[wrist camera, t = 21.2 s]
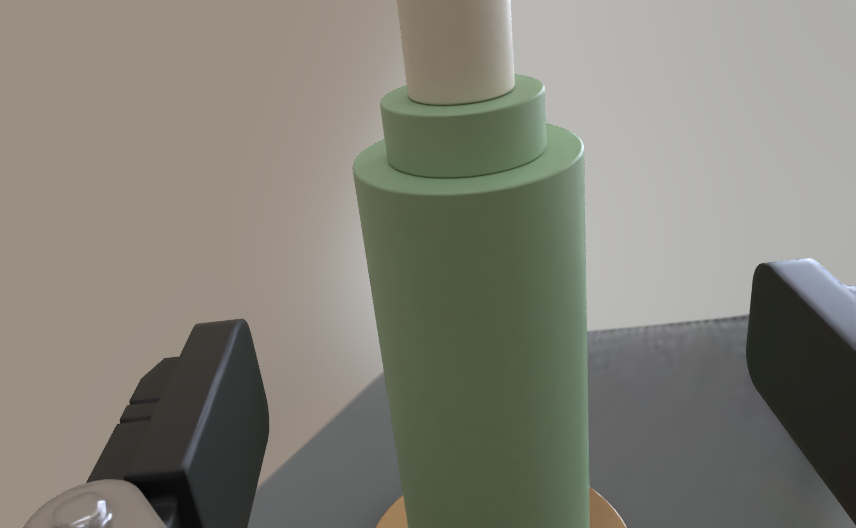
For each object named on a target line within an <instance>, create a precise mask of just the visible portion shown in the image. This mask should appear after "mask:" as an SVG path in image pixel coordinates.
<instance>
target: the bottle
mask: <svg viewBox="0 0 856 528" xmlns="http://www.w3.org/2000/svg"><path fill="white" fill-rule="evenodd" d="M397 5H398V13H399V22H400V29H401V30H400V31H401V39H402V48H403V55H404V65H405V73H406V81H407V85H405V86H403V87H400V88H397V89H395V90H393V91H391V92H389V93H388V94H386V95H385V96H384V97H383V98H382V99H381V102H380V107H381V115H382V122H383V129H384V137H385V139H383V140H381V141H379V142H377V143H375V144H373V145H371V146H370V147H368V148H366V149H365V150H364V151H362V152H361V153H360V154H359V155H358V156H357V158H356V159H355V161H354V164H353V174H354V181H355V187H356V194H357V200H358V207H359V214H360V220H361V226H362V233H363V239H364V245H365V252H366V259H367V265H368V272H369V278H370V284H371V290H372V297H373V303H374V310H375V317H376V323H377V330H378V336H379V343H380V349H381V355H382V362H383V368H384V375H385V381H386V388H387V394H388V401H389V407H390V413H391V420H392V426H393V433H394V439H395V446H396V452H397V459H398V465H399V472H400V478H401V484H402V491H403V497H404V504H405V510H406V517H407V523H408V528H590V514H589V447H588V380H587V316H586V315H587V313H586V250H585V249H586V248H585V247H586V245H585V183H584V182H585V181H584V180H585V179H584V146H583V143H582V141H581V140H580V138H579V137H578V136H577V135H575V134H574V133H572V132H570V131H568V130H566V129H564V128H561V127H558V126H555V125H551V124H546V117H545V116H546V115H545V92H544V91H545V88H544V85H543V83H542V82H540V81H539V80H537V79H534V78H531V77H527V76H523V75H517V74H514V59H513V58H514V57H513V39H512V20H511V3H510V0H397Z"/></svg>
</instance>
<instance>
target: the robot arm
mask: <svg viewBox="0 0 856 528" xmlns="http://www.w3.org/2000/svg"><path fill="white" fill-rule="evenodd" d="M746 358H747V366H748V370H749V374H750V377H751V380H752V382H753V384H754V386H755V388H756V389H757V391H758V392H759V394H760V395H761V396H762V398H763V399H764V400H765V402H766V403H767V405H768V406H769V407H770V409H771V410H772V411H773V413H774V414H775V415H776V417H777V418H778V420H779V421H780V422H781V424H782V425H783V426H784V428H785V429H786V430H787V432H788V433H789V435H790V436H791V437H792V439H793V440H794V441H795V443H796V444H797V446H798V447H799V448H800V450H801V451H802V452H803V454H804V455H805V456H806V458H807V459H808V461H809V462H810V463H811V465H812V466H813V467H814V469H815V470H816V471H817V473H818V474H819V476H820V477H821V478H822V480H823V481H824V482H825V484H826V485H827V487H828V488H829V489H830V491H831V492H832V493H833V495H834V496H835V497H836V499H837V500H838V502H839V503H840V504H841V506H842V507H843V508H844V510H845V511H846V513H847V514H848V515H849V517H850V518H851V519H852V521H853V522H854V523H855V525H856V287H854V286H851V285H846V286H844V285H843V284H842V283H841V282H839V281H838V280H837V279H836V278H835V277H834V276H833V275H831V274H830V273H829V272H828V271H827V270H826V269H824V268H823V267H822V266H821V265H820V264H819V263H818V262H816V261H815V260H813V259H811V258H805V259H796V260H787V261H779V262H768V263H762V264H759V265H758V266H757V268H756V269H755V272H754V276H753V282H752V293H751V303H750V314H749V324H748V335H747V346H746ZM268 435H269V412H268V404H267V399H266V394H265V390H264V386H263V382H262V378H261V374H260V369H259V365H258V361H257V357H256V352H255V349H254V344H253V340H252V336H251V332H250V329H249V326H248V324H247V322H246V321H245V320H244V319H235V320H226V321H217V322H208V323H199V324H196V325H195V326H194V328H193V329H192V331H191V333H190V336H189V338H188V340H187V342H186V344H185V346H184V348H183V350H182V353H181V355H180V357H171V358H164V359H163V360H162V361H161V362H160V363H159V364H157V365H156V366H155V367H154V368H153V369H152V370H151V371H149V372H148V373H147V374H146V375H145V376H144V377H143V378H142V379H141V380H140V382H139V384H138V386H137V388H136V390H135V391H134V393H133V395H132V397H131V399H130V405H127V407H126V408H125V410H124V412H123V414H122V416H121V418H120V424H117V425H116V427H115V429H114V431H113V433H112V435H111V437H110V439H109V441H108V443H107V444H106V446H105V448H104V450H103V452H102V454H101V456H100V458H99V460H98V461H97V463H96V465H95V467H94V469H93V471H92V473H91V475H90V476H89V478H88V480H87V482H86V483H85V484H82V485H79V486H76V487H74V488H71V489H69V490H67V491H65V492H63V493H61V494H59V495H57V496H56V497H54V498H53V499H51V500H50V501H48V502H47V503H46V504H44V505H43V506H42V507H41V508H39V509H38V510H37V511H36V512H35V513H34V514H33V515H32V516H31V517H30V519H29V520H28V521H27V523H26V524H25V525H24V527H23V528H247V526H248V522H249V517H250V513H251V509H252V505H253V500H254V496H255V492H256V488H257V484H258V479H259V475H260V471H261V466H262V462H263V458H264V454H265V449H266V445H267V441H268Z"/></svg>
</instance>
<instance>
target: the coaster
mask: <svg viewBox="0 0 856 528" xmlns="http://www.w3.org/2000/svg"><path fill="white" fill-rule="evenodd" d="M589 514H590V528H627V527H626V525H625V523H624V522H623V520H622V519H621V517H620V516H619V515H618V513H617V512H616V510H615V509H614V508H613V507H612V506H611V505H610V504H609V503H608V502H607V501H606V500H605V499H604V498H603V497H602V496H601V495H599V494H598V493H597V492H596V491H595V490H593V489H592V488H590V487H589ZM376 528H408V523H407V517H406V510H405V504H404V497H403V496H401V497H400V498H399V499H398V500H397V501H396V502H395V503H394V504H393V505H392V506H391V507H390V508H389V509H388V510H387V512H386V513H385V514H384V515H383V517H382V518H381V519H380V521H379V523H378V525H377V526H376Z"/></svg>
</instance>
